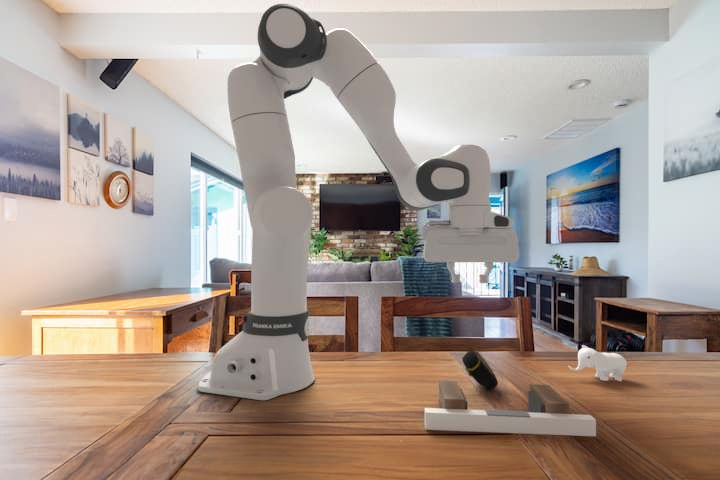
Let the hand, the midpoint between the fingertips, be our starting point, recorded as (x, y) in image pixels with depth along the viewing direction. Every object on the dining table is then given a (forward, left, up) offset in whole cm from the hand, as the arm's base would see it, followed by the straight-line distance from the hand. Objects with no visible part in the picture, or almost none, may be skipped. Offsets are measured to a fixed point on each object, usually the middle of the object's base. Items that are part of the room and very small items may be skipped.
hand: (469, 282), depth 80 cm
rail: (0, -21, -19) cm, 29 cm away
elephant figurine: (+25, -3, -19) cm, 32 cm away
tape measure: (0, -9, -19) cm, 21 cm away
